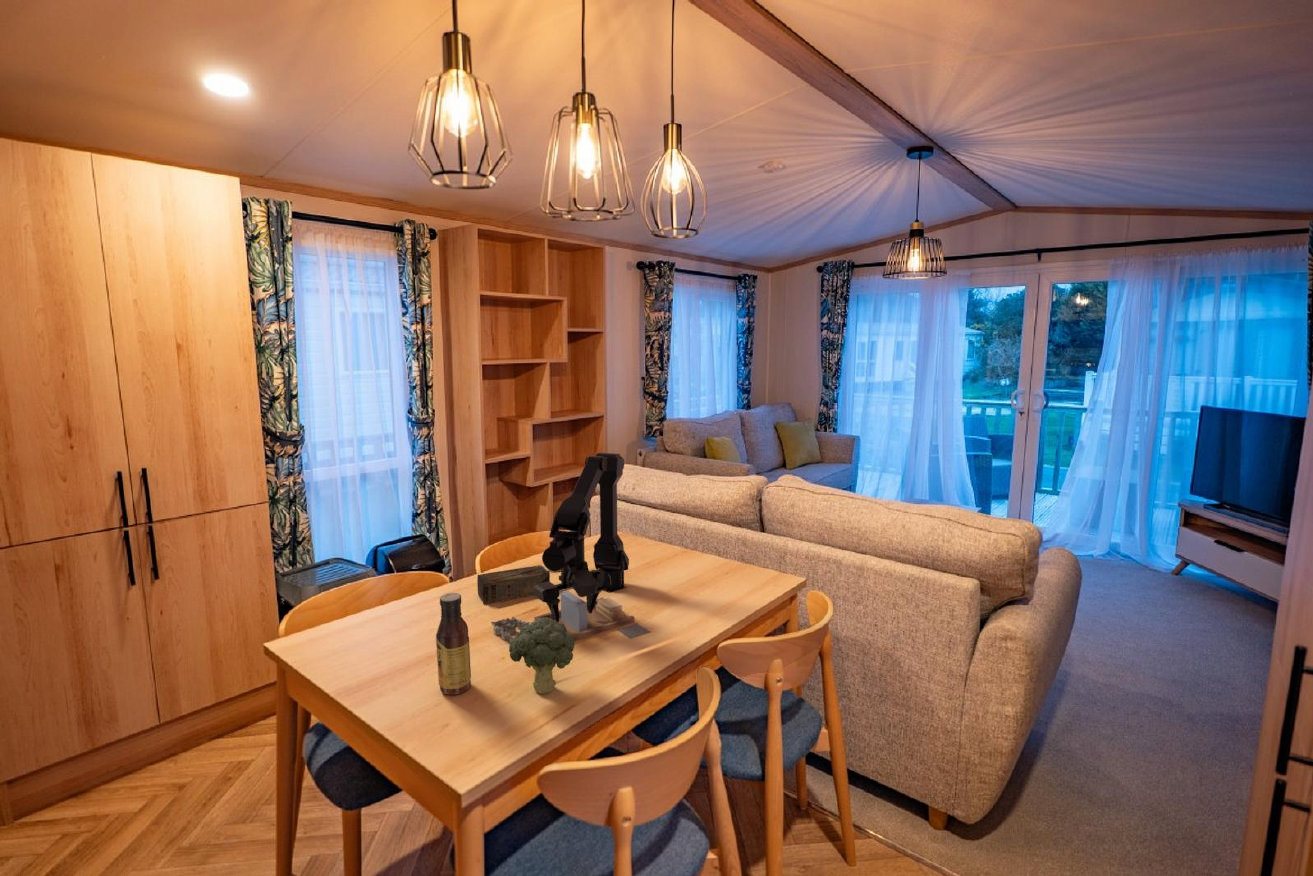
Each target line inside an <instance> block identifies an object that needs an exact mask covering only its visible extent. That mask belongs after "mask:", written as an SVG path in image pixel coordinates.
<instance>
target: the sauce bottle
mask: <svg viewBox="0 0 1313 876" xmlns="http://www.w3.org/2000/svg"><path fill="white" fill-rule="evenodd" d="M439 605H440V611H441V612H440V613H441V616H440V618H441V619H440V622H439V624H438V627H437V631H436V633H435V645H436V658H437V659H436V661H437V675H438V677H437V678H438V685H439V689H440V691H441V693H442V694H443V695H448V696H453V695H454V696H456V695H459V694H462V693H465V692H466V691H467V690H468V689H469V688H470V686H471V683H472V681H471V679H472V678H471V677H472V671H471V670H472V669H471V667H472V666H471V655H470V654H471V652H470V651H471V650H470V648H471V647H470V637H469V628H468V627H469V625H468V624H467V622H466V621H465V620H464V618H463V617H462V606H461V605H462V595H461V593H458V592H449V593H445V594H443V595H441V596H440V597H439Z"/></svg>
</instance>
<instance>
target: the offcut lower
mask: <svg viewBox="0 0 1313 876" xmlns="http://www.w3.org/2000/svg"><path fill="white" fill-rule="evenodd" d="M596 611H598V612H599V613H601V614H602V615H604V616H605V617H607V618H608V619H610V620H611V621H614V620H618V619H621V618H624V616H625V611H623V610H622V611H619V612H615V613H612V614H609V613H608V612H606V611H605V610H603V609H601V608H600V607H598V604H597V605H596Z"/></svg>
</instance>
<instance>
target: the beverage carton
mask: <svg viewBox="0 0 1313 876" xmlns="http://www.w3.org/2000/svg"><path fill="white" fill-rule="evenodd" d="M550 573H551V572H548V571H547V570H546V569H545V568H544V567H543V565H542V564H538V565H533V566H532V565H531V566H525V567H520V568H513V569H506V570H499V571H493V572H487V573H482V574H477V578H476V579H477V583H476V584H477V595H478V597H479V599H480V600H481V602H482V603H483V605H488V604H494V603H499V602H504V601H509V599H510V600H514V599H513V598H515V599H518V598H517V597H520V598H523V597H522V596H525V597H527V596H526V595H531V596H534V587H535V586H536V584H540V583H544V582H548V581H549V582H551V580H550V579H551V574H550ZM503 600H504V601H503ZM498 601H499V602H498ZM493 602H494V603H493Z"/></svg>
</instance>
